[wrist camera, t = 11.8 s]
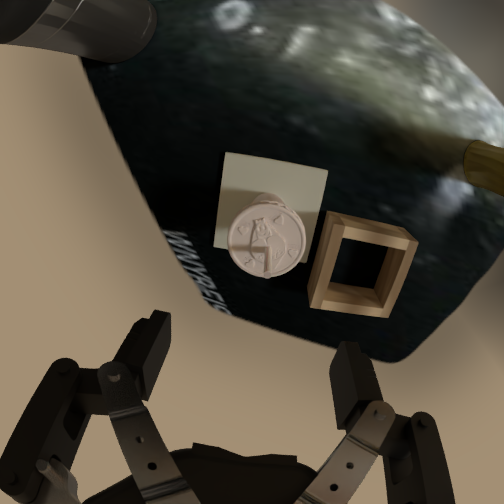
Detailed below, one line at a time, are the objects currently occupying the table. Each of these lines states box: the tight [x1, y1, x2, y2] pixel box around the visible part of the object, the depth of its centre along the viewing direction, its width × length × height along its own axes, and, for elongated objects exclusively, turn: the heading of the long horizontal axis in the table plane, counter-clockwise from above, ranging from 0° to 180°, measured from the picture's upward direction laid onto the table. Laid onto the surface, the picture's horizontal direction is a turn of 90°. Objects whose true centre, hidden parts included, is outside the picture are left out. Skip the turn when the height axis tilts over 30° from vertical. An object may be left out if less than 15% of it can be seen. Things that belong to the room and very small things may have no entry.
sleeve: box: [307, 211, 418, 318], centre depth 32 cm, size 10×10×4 cm
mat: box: [214, 152, 328, 263], centre depth 33 cm, size 11×11×1 cm
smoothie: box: [227, 193, 306, 278], centre depth 26 cm, size 6×6×14 cm
